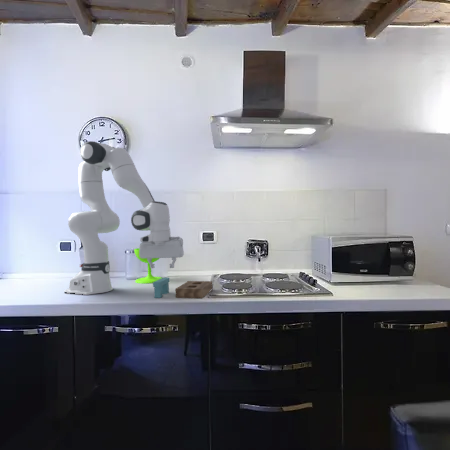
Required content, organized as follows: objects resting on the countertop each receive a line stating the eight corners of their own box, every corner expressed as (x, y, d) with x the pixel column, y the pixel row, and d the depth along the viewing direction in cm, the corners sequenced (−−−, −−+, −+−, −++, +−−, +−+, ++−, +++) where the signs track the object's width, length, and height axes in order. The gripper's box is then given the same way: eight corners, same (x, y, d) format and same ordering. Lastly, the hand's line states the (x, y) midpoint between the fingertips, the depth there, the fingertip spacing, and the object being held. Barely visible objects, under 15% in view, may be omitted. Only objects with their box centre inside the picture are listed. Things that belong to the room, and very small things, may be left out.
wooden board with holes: (175, 297, 155) (175, 288, 155) (188, 289, 172) (188, 281, 172) (202, 298, 152) (202, 289, 152) (212, 289, 170) (212, 281, 170)
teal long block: (153, 298, 155) (152, 282, 155) (163, 292, 167) (163, 277, 166) (159, 298, 154) (159, 282, 154) (169, 292, 166) (169, 277, 166)
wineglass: (161, 283, 190) (160, 249, 190) (131, 284, 190) (130, 250, 189) (166, 278, 206) (165, 247, 206) (138, 278, 206) (137, 247, 205)
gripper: (184, 236, 161) (186, 266, 161) (143, 237, 165) (144, 267, 165) (180, 236, 154) (181, 268, 155) (136, 238, 159) (138, 269, 159)
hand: (162, 267), depth 160 cm, fingers open, 8 cm apart
